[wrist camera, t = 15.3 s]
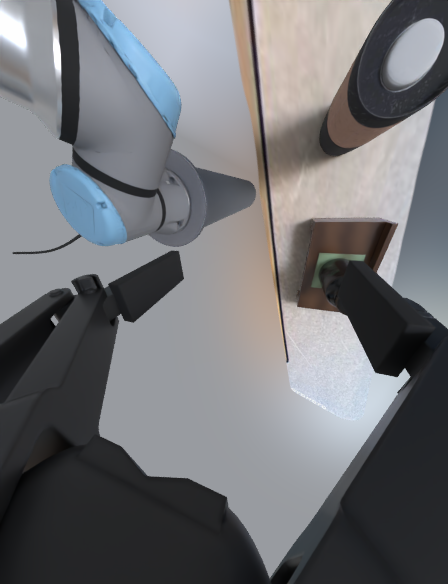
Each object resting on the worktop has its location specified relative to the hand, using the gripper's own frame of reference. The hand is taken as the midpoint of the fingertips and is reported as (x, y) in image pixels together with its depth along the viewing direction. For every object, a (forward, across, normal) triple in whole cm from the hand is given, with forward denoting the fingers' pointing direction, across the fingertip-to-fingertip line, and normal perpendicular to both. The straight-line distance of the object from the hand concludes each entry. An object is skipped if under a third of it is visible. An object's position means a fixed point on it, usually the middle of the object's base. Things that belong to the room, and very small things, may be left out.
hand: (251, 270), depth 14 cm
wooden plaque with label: (+31, +14, -10) cm, 35 cm away
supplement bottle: (+26, +14, -10) cm, 31 cm away
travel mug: (+31, +10, +14) cm, 35 cm away
